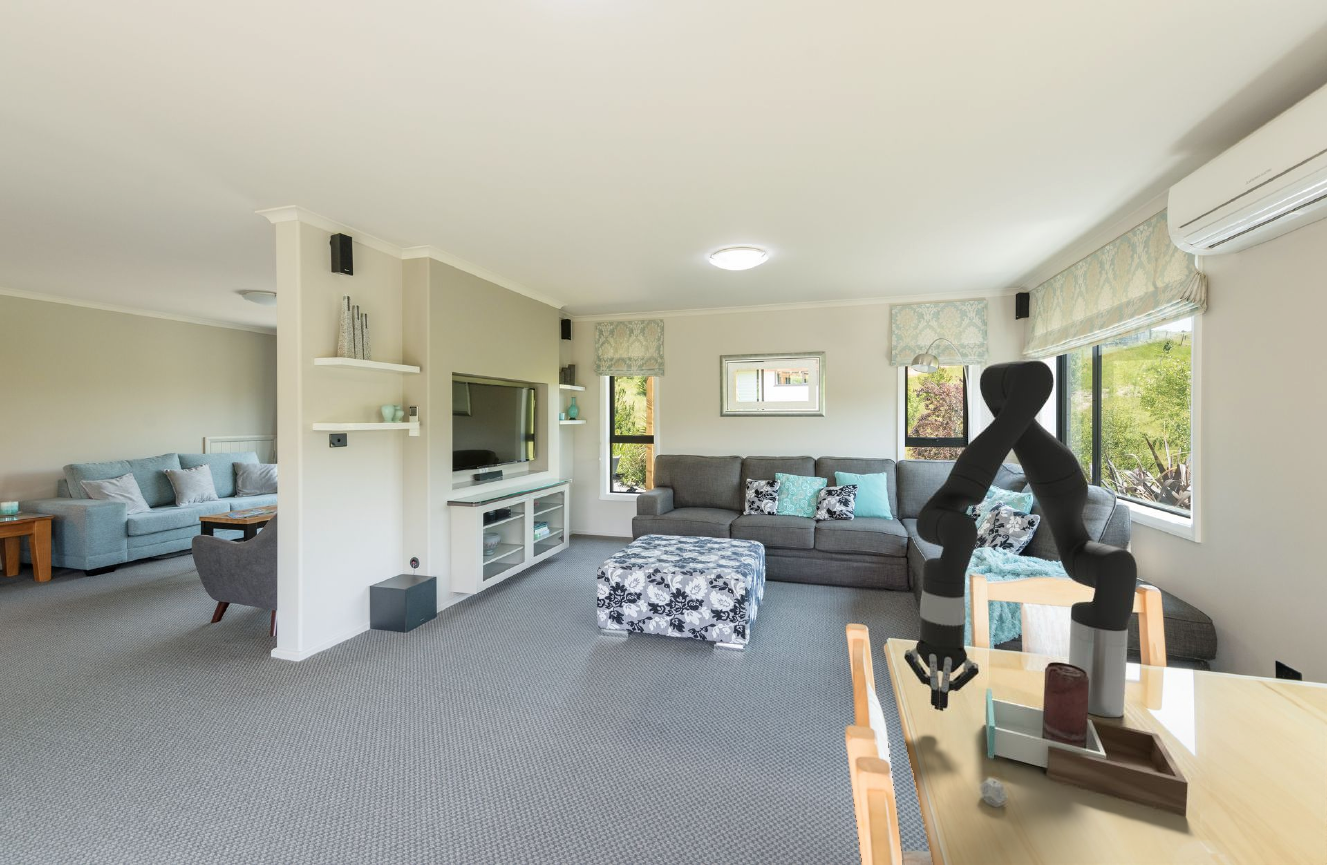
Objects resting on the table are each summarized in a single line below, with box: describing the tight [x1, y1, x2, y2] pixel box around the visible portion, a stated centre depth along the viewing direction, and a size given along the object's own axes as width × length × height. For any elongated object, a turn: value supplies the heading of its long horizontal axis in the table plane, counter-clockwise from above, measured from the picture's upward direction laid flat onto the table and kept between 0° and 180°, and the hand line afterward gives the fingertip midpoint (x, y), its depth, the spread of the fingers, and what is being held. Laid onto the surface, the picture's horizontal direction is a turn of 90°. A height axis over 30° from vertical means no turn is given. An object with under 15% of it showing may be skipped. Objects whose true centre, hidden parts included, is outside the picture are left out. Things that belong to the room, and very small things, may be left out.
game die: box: [979, 777, 1008, 808], centre depth 86 cm, size 4×4×3 cm
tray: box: [985, 688, 1106, 769], centre depth 99 cm, size 15×16×5 cm
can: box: [1042, 661, 1089, 749], centre depth 97 cm, size 6×6×14 cm
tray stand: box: [1038, 708, 1188, 817], centre depth 95 cm, size 15×17×5 cm
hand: (938, 708), depth 106 cm, fingers closed
